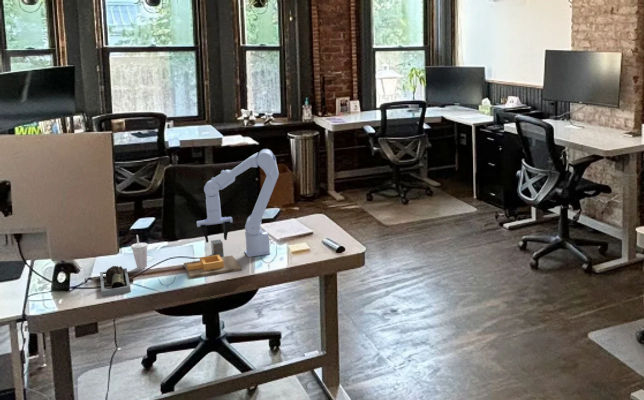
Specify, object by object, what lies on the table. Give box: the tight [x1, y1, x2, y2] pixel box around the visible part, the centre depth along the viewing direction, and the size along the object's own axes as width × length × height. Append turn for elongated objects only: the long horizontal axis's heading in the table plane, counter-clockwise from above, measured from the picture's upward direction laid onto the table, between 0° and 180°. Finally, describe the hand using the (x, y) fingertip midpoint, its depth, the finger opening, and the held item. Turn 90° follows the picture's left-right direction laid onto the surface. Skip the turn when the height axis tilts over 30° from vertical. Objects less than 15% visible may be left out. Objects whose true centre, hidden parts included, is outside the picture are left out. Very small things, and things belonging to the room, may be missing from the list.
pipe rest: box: [99, 267, 132, 297], centre depth 240 cm, size 10×21×2 cm, turn 20°
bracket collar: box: [187, 255, 224, 270], centre depth 252 cm, size 13×9×2 cm, turn 110°
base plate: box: [183, 254, 242, 279], centre depth 253 cm, size 20×16×1 cm
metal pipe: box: [105, 265, 126, 289], centre depth 240 cm, size 18×7×6 cm, turn 17°
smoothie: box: [130, 234, 149, 270], centre depth 255 cm, size 6×6×14 cm
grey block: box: [210, 239, 225, 257], centre depth 267 cm, size 4×5×6 cm
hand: (216, 240), depth 266 cm, fingers open, 7 cm apart
